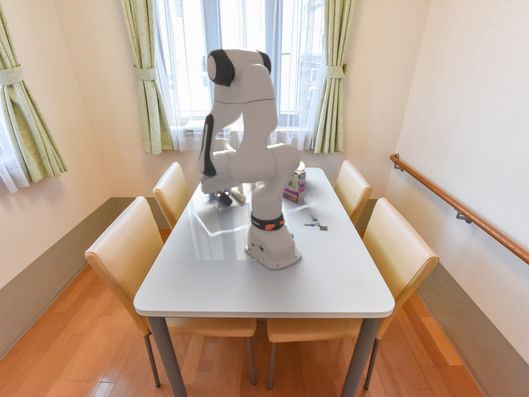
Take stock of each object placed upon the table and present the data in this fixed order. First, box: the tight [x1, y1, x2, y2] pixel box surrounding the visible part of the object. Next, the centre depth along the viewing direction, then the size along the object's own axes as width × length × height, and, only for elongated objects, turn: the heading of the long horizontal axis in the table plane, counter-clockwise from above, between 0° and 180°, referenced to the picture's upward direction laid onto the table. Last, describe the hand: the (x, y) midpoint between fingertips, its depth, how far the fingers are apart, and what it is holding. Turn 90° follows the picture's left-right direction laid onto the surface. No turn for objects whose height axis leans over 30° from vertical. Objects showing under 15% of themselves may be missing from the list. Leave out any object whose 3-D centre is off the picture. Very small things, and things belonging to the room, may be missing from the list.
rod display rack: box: [205, 183, 257, 212], centre depth 137 cm, size 18×28×6 cm, turn 122°
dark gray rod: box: [217, 190, 233, 206], centre depth 132 cm, size 16×4×4 cm, turn 32°
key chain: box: [303, 214, 329, 232], centre depth 117 cm, size 14×8×1 cm, turn 27°
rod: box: [231, 187, 246, 202], centre depth 137 cm, size 14×3×3 cm, turn 32°
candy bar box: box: [283, 169, 307, 204], centre depth 133 cm, size 11×5×16 cm, turn 42°
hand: (223, 197), depth 132 cm, fingers closed on dark gray rod, 4 cm apart
